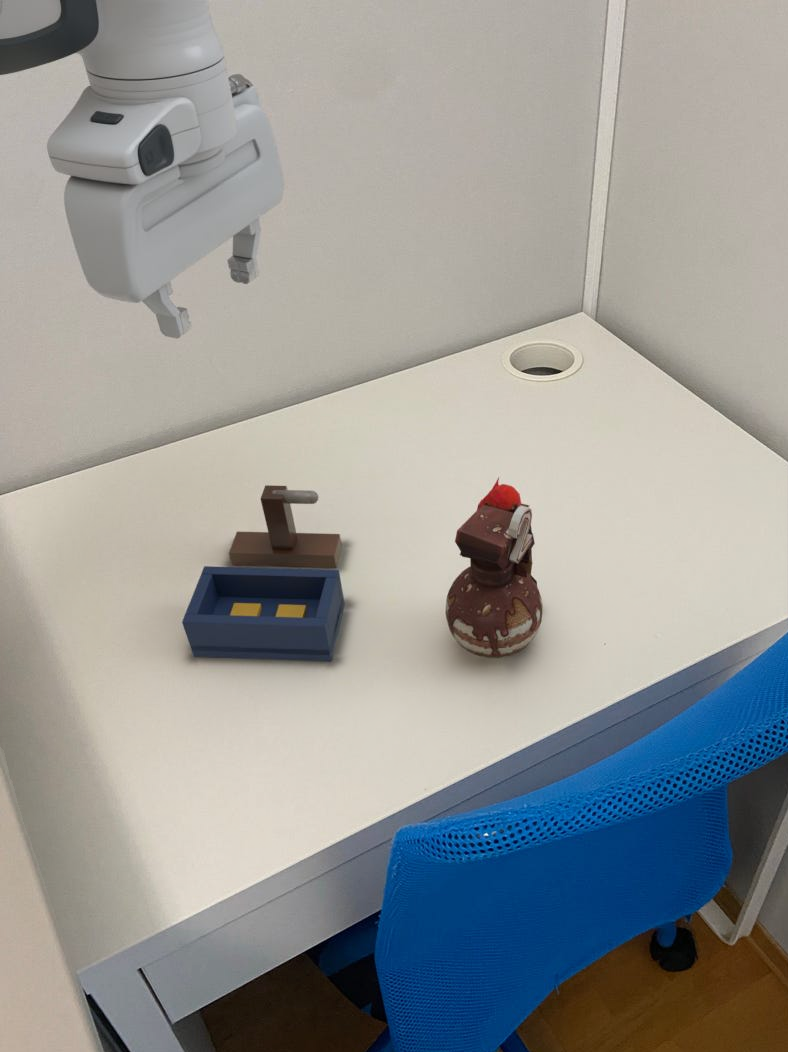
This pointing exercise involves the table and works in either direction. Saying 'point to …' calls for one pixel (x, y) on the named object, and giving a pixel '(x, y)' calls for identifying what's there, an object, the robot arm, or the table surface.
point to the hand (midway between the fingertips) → (213, 305)
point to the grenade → (496, 578)
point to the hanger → (285, 535)
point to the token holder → (265, 613)
